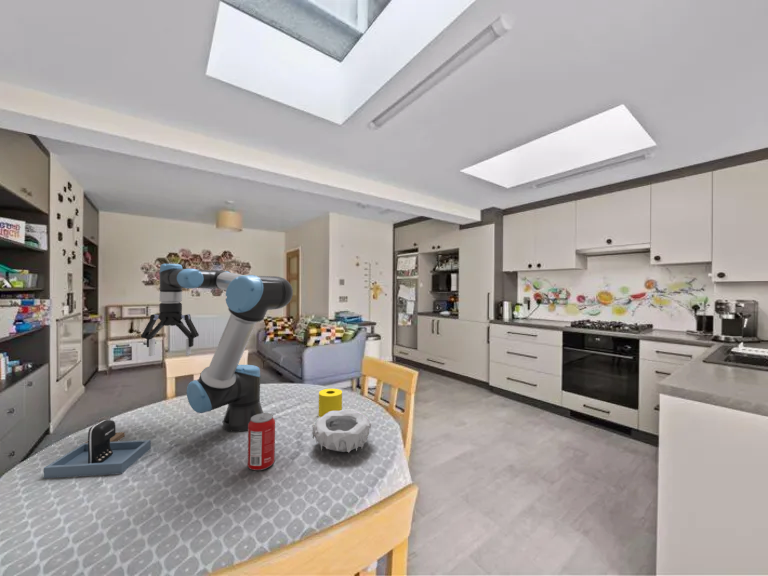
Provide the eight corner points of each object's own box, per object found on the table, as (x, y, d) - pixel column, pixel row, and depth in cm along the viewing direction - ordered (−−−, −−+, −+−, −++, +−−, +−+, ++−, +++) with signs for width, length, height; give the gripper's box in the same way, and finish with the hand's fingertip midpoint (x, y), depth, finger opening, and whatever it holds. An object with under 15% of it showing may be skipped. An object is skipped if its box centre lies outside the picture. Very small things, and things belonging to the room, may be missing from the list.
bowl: (381, 440, 114) (382, 412, 114) (353, 469, 95) (353, 437, 95) (333, 428, 123) (334, 402, 123) (299, 453, 104) (299, 423, 104)
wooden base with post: (124, 436, 113) (124, 412, 113) (108, 447, 105) (108, 422, 105) (100, 437, 112) (100, 413, 112) (81, 449, 104) (82, 423, 104)
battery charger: (100, 465, 94) (101, 427, 94) (86, 466, 93) (87, 428, 93) (117, 453, 101) (117, 417, 101) (104, 453, 100) (104, 418, 100)
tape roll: (346, 412, 138) (346, 391, 138) (331, 420, 129) (331, 398, 129) (329, 407, 143) (329, 387, 143) (313, 415, 135) (313, 393, 135)
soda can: (248, 475, 92) (249, 424, 92) (246, 461, 99) (247, 414, 98) (276, 468, 95) (277, 419, 95) (272, 456, 102) (273, 410, 102)
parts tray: (150, 448, 105) (150, 439, 105) (121, 473, 91) (121, 463, 91) (83, 452, 103) (83, 443, 102) (43, 478, 89) (43, 467, 89)
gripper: (207, 302, 131) (207, 352, 132) (142, 301, 128) (142, 353, 128) (200, 303, 124) (199, 356, 124) (130, 302, 121) (129, 357, 121)
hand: (170, 355), depth 126 cm, fingers open, 13 cm apart
